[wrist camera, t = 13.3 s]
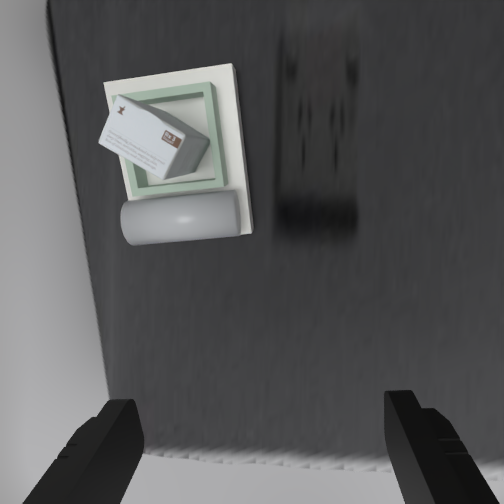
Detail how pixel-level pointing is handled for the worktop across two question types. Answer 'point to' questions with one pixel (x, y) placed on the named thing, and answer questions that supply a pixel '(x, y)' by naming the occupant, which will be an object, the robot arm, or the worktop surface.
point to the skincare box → (153, 139)
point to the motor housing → (203, 200)
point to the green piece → (215, 133)
